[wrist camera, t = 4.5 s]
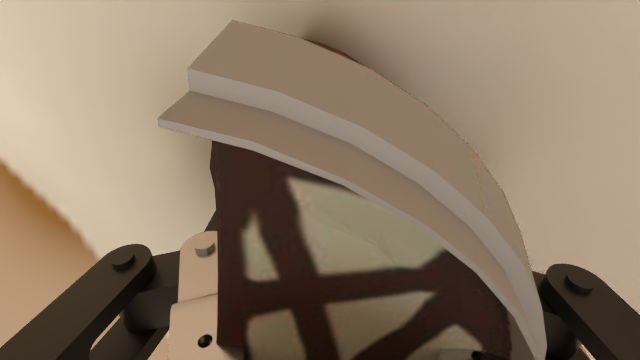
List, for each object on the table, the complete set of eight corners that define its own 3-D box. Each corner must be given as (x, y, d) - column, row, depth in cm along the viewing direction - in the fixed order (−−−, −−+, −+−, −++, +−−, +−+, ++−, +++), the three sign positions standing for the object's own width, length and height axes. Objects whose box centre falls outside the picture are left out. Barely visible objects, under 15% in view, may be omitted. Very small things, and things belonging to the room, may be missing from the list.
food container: (392, 274, 18) (427, 554, 9) (277, 255, 18) (207, 518, 9) (489, 23, 11) (945, 189, 3) (306, -9, 11) (147, 52, 2)
